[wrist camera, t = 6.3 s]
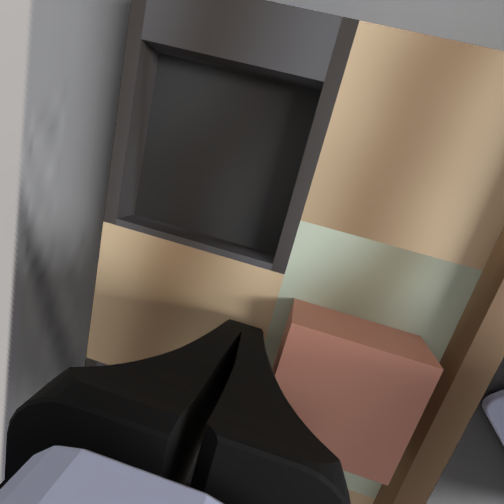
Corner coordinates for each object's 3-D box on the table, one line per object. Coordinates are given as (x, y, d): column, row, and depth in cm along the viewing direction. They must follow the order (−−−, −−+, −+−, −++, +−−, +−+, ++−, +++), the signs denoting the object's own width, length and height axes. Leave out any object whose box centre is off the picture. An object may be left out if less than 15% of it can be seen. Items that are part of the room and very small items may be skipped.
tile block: (420, 335, 11) (443, 369, 9) (375, 437, 13) (387, 485, 11) (294, 298, 12) (291, 322, 10) (262, 400, 13) (254, 439, 11)
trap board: (574, 88, 10) (659, 62, 8) (347, 566, 16) (354, 637, 14) (156, -3, 12) (114, -51, 9) (88, 469, 18) (51, 518, 15)
